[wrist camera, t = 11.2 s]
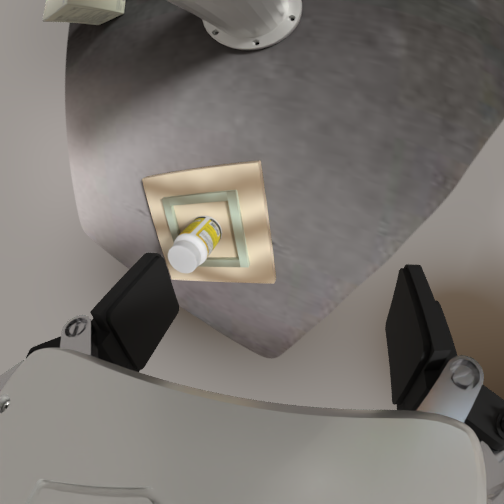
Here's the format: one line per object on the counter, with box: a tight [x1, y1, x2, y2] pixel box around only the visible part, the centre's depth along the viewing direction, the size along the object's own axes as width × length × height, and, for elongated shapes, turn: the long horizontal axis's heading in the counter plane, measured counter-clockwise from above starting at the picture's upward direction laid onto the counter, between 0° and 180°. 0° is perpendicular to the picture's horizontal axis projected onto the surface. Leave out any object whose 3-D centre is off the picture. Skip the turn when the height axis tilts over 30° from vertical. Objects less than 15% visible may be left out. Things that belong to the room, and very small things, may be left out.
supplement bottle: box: [168, 216, 222, 273], centre depth 36 cm, size 5×5×8 cm
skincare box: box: [43, 0, 125, 25], centre depth 20 cm, size 6×4×12 cm
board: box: [142, 160, 276, 283], centre depth 40 cm, size 18×18×2 cm
